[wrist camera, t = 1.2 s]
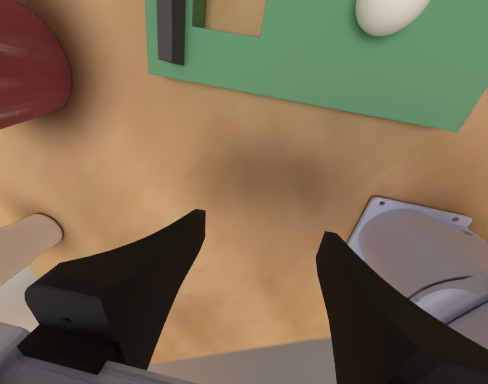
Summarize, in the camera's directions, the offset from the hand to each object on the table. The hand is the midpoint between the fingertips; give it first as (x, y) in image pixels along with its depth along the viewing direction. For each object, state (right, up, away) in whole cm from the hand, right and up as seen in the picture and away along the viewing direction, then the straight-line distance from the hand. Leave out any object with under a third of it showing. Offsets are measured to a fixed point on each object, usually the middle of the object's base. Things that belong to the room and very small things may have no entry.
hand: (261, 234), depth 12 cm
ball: (+7, +13, -1) cm, 15 cm away
